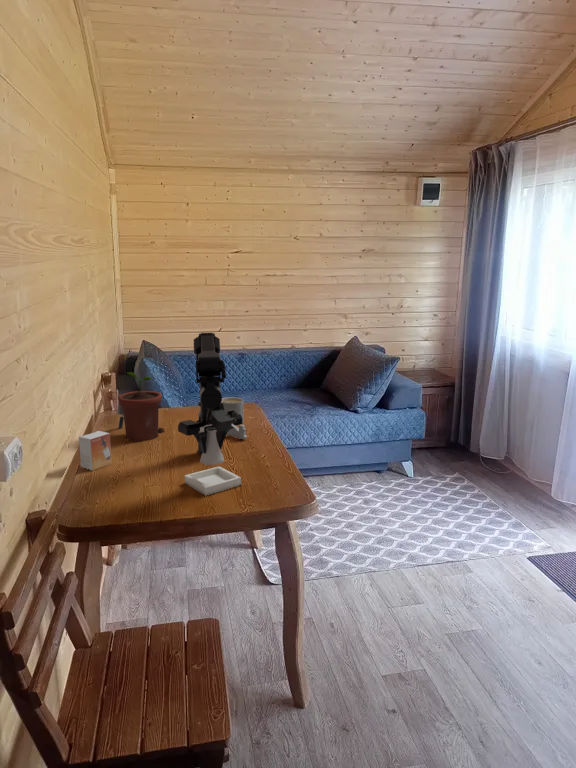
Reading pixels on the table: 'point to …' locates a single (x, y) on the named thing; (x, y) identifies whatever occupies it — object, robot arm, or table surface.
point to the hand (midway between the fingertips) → (211, 451)
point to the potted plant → (140, 413)
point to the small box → (95, 450)
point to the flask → (212, 449)
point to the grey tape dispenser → (237, 432)
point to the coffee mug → (233, 405)
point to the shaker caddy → (212, 480)
